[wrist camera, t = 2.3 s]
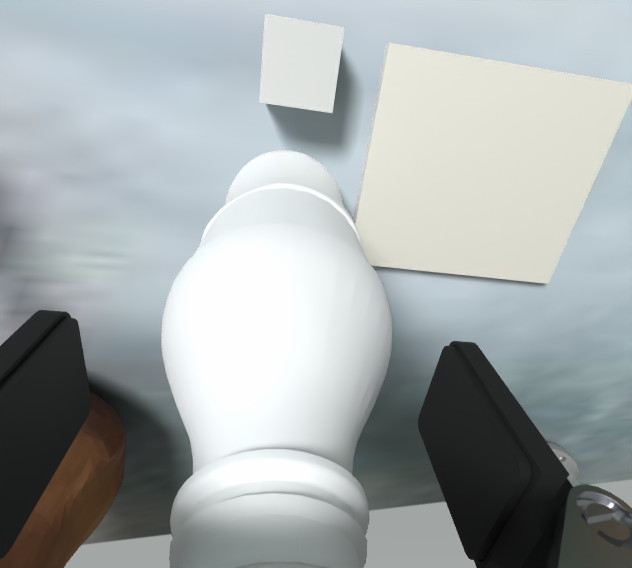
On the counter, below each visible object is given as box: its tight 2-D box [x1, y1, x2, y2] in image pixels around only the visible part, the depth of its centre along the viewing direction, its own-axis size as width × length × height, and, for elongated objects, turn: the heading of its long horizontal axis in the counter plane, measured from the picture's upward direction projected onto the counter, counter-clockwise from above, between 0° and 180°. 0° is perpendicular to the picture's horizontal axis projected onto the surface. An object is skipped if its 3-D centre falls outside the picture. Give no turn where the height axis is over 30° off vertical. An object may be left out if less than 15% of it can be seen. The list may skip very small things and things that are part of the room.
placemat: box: [353, 43, 632, 284], centre depth 27 cm, size 16×14×1 cm
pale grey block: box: [259, 14, 345, 113], centre depth 22 cm, size 4×4×4 cm
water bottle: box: [161, 150, 392, 568], centre depth 16 cm, size 7×7×25 cm
